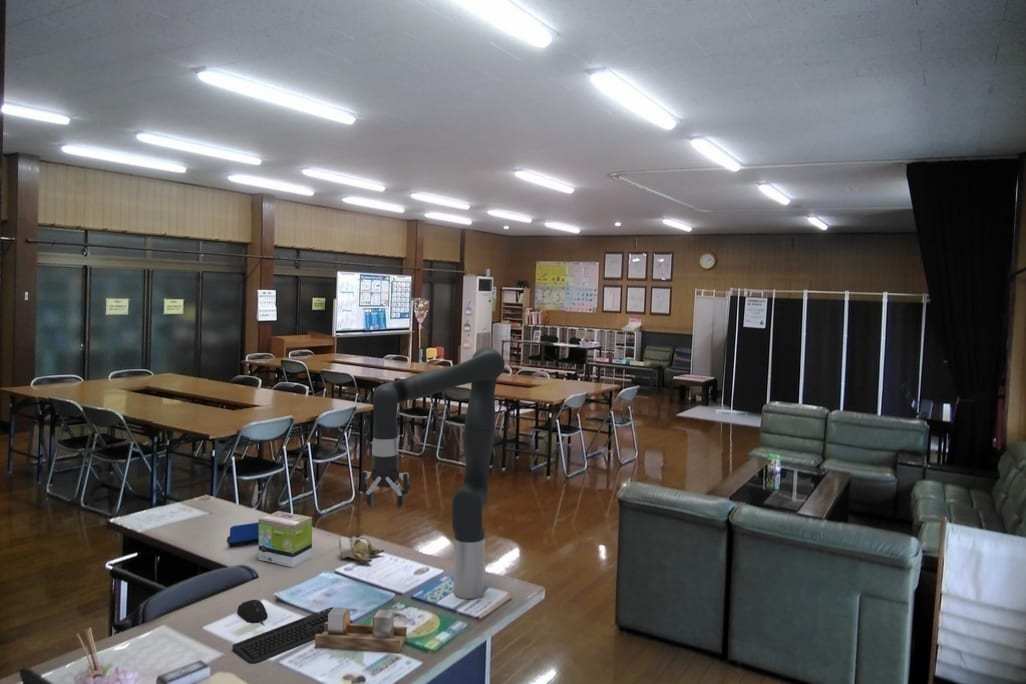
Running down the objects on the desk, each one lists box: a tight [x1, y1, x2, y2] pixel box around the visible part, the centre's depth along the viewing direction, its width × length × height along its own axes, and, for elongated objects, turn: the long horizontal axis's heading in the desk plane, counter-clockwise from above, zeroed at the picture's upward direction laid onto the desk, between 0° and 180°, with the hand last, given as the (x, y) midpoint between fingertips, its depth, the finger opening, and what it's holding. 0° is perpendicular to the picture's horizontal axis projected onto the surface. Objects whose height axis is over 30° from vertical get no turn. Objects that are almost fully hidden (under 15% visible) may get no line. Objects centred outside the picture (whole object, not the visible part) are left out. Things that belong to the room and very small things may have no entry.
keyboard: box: [232, 606, 353, 665], centre depth 178 cm, size 30×11×2 cm, turn 138°
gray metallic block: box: [328, 606, 351, 636], centre depth 175 cm, size 4×5×7 cm
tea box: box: [258, 510, 313, 569], centre depth 229 cm, size 15×10×15 cm
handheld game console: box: [226, 521, 259, 548], centre depth 245 cm, size 16×13×9 cm
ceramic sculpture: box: [338, 534, 385, 564], centre depth 231 cm, size 11×9×15 cm
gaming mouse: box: [236, 599, 268, 627], centre depth 188 cm, size 6×15×4 cm, turn 41°
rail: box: [314, 609, 408, 653], centre depth 175 cm, size 22×8×8 cm, turn 85°
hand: (385, 506), depth 198 cm, fingers open, 8 cm apart
